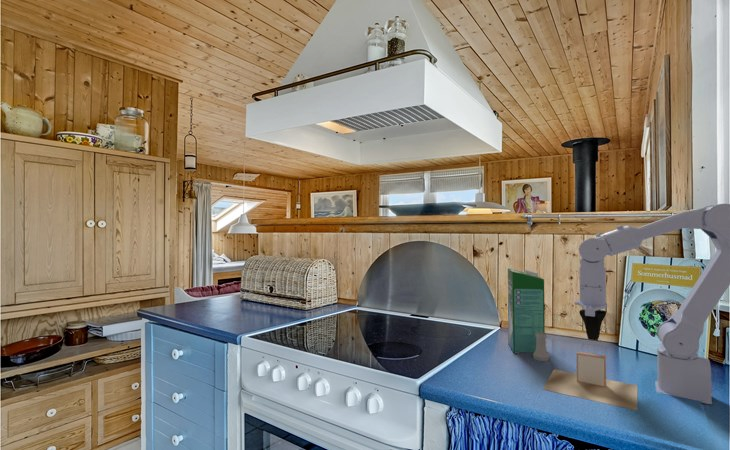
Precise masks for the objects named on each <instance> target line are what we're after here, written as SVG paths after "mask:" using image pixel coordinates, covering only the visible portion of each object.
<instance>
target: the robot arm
mask: <svg viewBox="0 0 730 450" xmlns="http://www.w3.org/2000/svg"><path fill="white" fill-rule="evenodd" d="M615 228H616V229H614V230H610V231H607V232H605V233H602V234H601V233H599V232H598V233H596V234H595V237H596V238H595V237H589V238H586V239H584V240H583V241H582V242H581V243H580V244H579V248H578V252H579V255H580V259H579V264H580V265H579V300H575V301H574V305H577V306H580V307H581V308H582V309H581V310H579V313H578V314H579V315H580V317H581V319H582V321H583V325H584V327H585V332H586V336H587V339H588V340H590V341H599V339H600V338H599V337H600V333H601V328H602V323H603V322H604V319H605V317H606V316H607V311H606V310H604V309H607V307H608V304H607V285H606V283H607V280H606V279H607V277H606V276H607V275H606V271H607V269H606V267H605V257H606V256H610V257H612V256H616V255H619V254H622V253H624V252H625V253H626V252H629V251H631V250H634V249H638V248H640V247H641V245H642V242H644V240H647V239H650V238H651V239H652V238H654V237H658V236H661V235H665V234H668V233H672V232H675V231H678V230H681V229H690V230H691V229H692V230H693V229H694V230H701V231H702V232H704V234H706V235H707V236H708V237H709V239H710V240H711V242H712V244H713V246H714V248H715V249H716V251H715V252H714V254H713V255H712V257H711V258H710V260H709V261H708V263H707V265H706V267H704V269H703V271H702V273H700V276H699V277H698V279H697V280H696V282H695V284H694V285H693V287H692V288H691V290H690V291H689V292H688V294H687V296H686V298H685V299H684V300H683V302H682V304H681V305H680V306H679V308H678V310H676V311H675V312H672V314H671V316H670V317H669V318H668V319H667V320H665V321H663V322H661V323H660V324H659V325H658V326H657V328H656V336H657V338H658V339H659V341H660V342H661V344H660V345H659V346H658V347H657V349H656V351H657V353H656V354H657V356H656V357H657V358H656V359H657V361H656V362H657V380H655V381H654V382H655V383H654V384H655V391H656V393H658V394H664V395H669V396H674V397H678V398H685V399H689V400H693V401H698V402H700V403H701V404H706V405H712V404H713V402H712V393H713V385H712V369H711V368H712V367H711V362H710V359H709V358H706V357H701V356H699V355H698V352H699V349H700V339H701V337H702V336H703V333H704V330H705V329H704V327H705V322H706V321H707V320H708V318H709V317H710V316H711V314H712V312H713V310H714V309H715V308H716V306H717V305H718V303H719V302H720V300H721V299H722V297H723V295H725V293H726V292H727V289H729V287H730V203H719V204H714V205H713V204H712V205H708V206H707V205H706V206H704V207H699V208H694V209H689V210H684V211H681V212H678V213H674V214H672V215H670V216H666V217H664V218H661V219H659V220H656V221H654V222H649V223H647V224H644V225H642V226H640V227H636V226H635V227H634V226H631V225H625V226H623V225H622V224H620V225H617V226H616V227H615Z"/></svg>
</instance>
